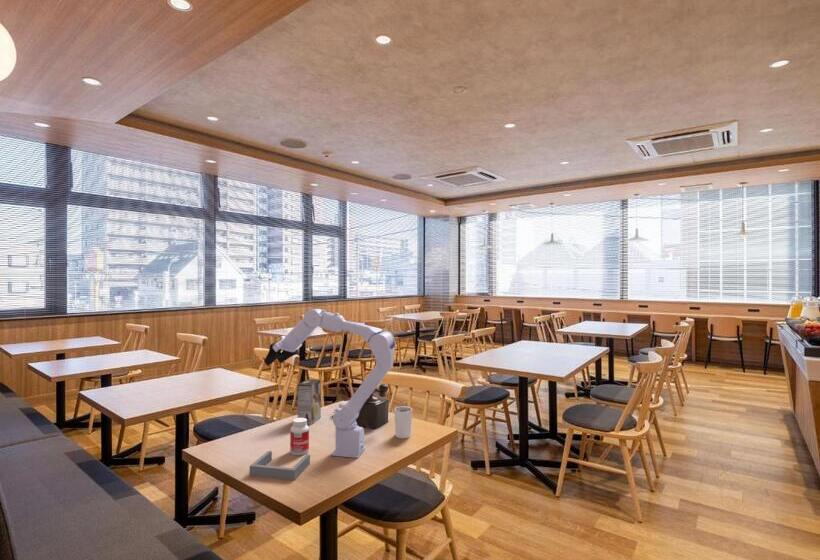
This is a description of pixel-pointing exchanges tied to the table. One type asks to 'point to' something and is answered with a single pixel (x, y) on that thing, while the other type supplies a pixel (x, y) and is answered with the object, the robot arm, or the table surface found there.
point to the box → (277, 468)
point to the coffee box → (309, 400)
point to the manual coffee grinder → (374, 410)
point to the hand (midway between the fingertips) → (272, 362)
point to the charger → (340, 406)
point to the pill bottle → (299, 437)
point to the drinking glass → (403, 421)
